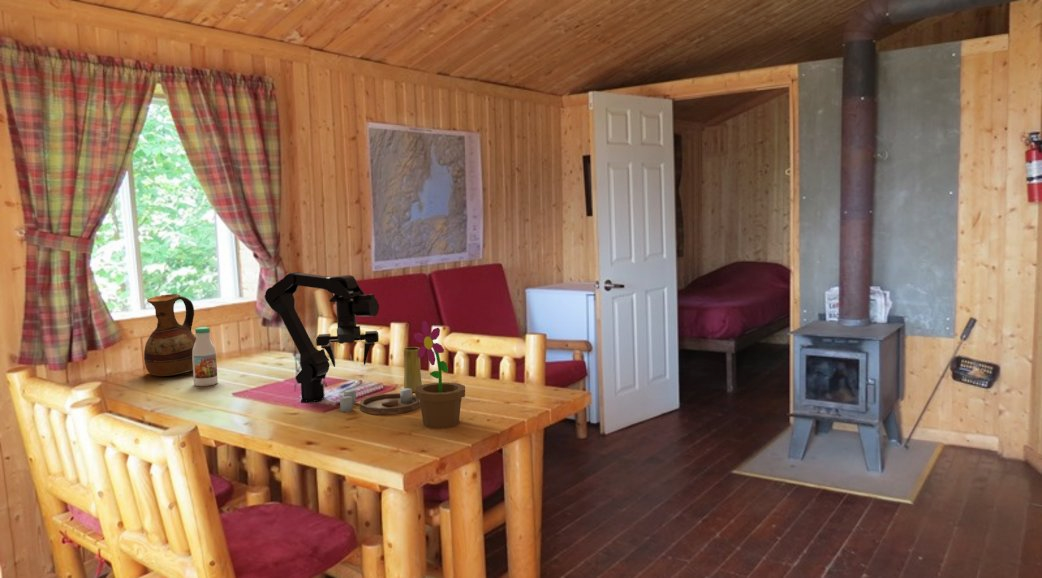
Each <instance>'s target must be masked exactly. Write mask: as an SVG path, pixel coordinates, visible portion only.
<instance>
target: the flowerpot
mask: <svg viewBox="0 0 1042 578" xmlns="http://www.w3.org/2000/svg"><path fill="white" fill-rule="evenodd" d="M421 330H422V333H420V332H416V333H413V338H414V340H415V341H416V342H418V343H421V344H422V343H423V345H421V346H420V347H419V348H420V349H419V350H418V357H419V358H420V359H421V358H423V357H424V356H426V354H427V360H428V362H429V364H430V365H431V366H435V364H436V363H437V367H438V368H437V369H438V370H433V371H431V372H430V373H429V375H430V376H431V377H433V378H435V379H437V380H438V382H432V383H425V384H424V383H423V384H422V385H421V386H418V387H416V390H415V392H414V393H415V394H414V396H415V398H417V399H419V402H420V412H421V419H422V422H423V423H422V425H423V426H424V427H425V428H428V429H434V428H435V430H437V429H438V430H439V429H442V428H444V429H448V428H449V429H450V428H454V427H457V426H458V425H460V416H461V415H460V414H461V406H462V405H461V404H462V398H465V397H466V386H465V385H464V384H461V383H457V382H448V381H446V382H445V381H444V382H443V379H442V378H443V377H442V376H443V375H442V372H443V373H446V374H447V373H448V372H449V368H448V363H447V362H446V361H444V360H441V357H440V354H443V353H444V352H445V349H444V347H443V345H441V344H440V343H438V342H434V341H435V340H437V339H438V337H439V336H440V333H441V329H440V327H436V328H433V329H432V331H430V326H429V324H428V322H427V320H422V323H421ZM442 430H443V429H442Z"/></svg>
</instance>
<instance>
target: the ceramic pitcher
mask: <svg viewBox="0 0 1042 578" xmlns="http://www.w3.org/2000/svg"><path fill="white" fill-rule="evenodd" d="M179 300H181V301H182V302H183V304H184V307H185V317H184V318H185V319H184V321H183V323H182V324H180V323H179V322H178V320H177V319H176V315H175V310H174V307H175V304H176V302H177V301H179ZM146 301H147V302H148V303H149V304H150V305H152V306H153V309H155V317H156V319H157V324H156V328H155V329H154V330H153V331H152V332H151V334H150V335H149V336H148V339H147V341H146V343H145V345H144V350H143V351H144V352H143V354H144V355H143V359H144V364H145V368H146V371H147V373H149V374H151V375H153V376H157V377H172V376H176V375H181V374H184V373H188V372H193V360H192V351H193V347H194V344H195V342H196V337H197V336H195V334H193V332H192V327H193V321H194V317H195V308H194V307H195V306H194V304H193V302H192V301H191V300H190V299H189V298H188V297H186V296H185V295H180V294H178V293H171V294H161V295H159V296H152V297H149V298H147V300H146Z"/></svg>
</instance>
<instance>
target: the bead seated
mask: <svg viewBox="0 0 1042 578" xmlns="http://www.w3.org/2000/svg"><path fill="white" fill-rule="evenodd" d="M399 391H400V397H401V403H402V404H409V403H412V395H413V393H412V389H410V388H404V387H403V388H401V389H400V390H399Z"/></svg>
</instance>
